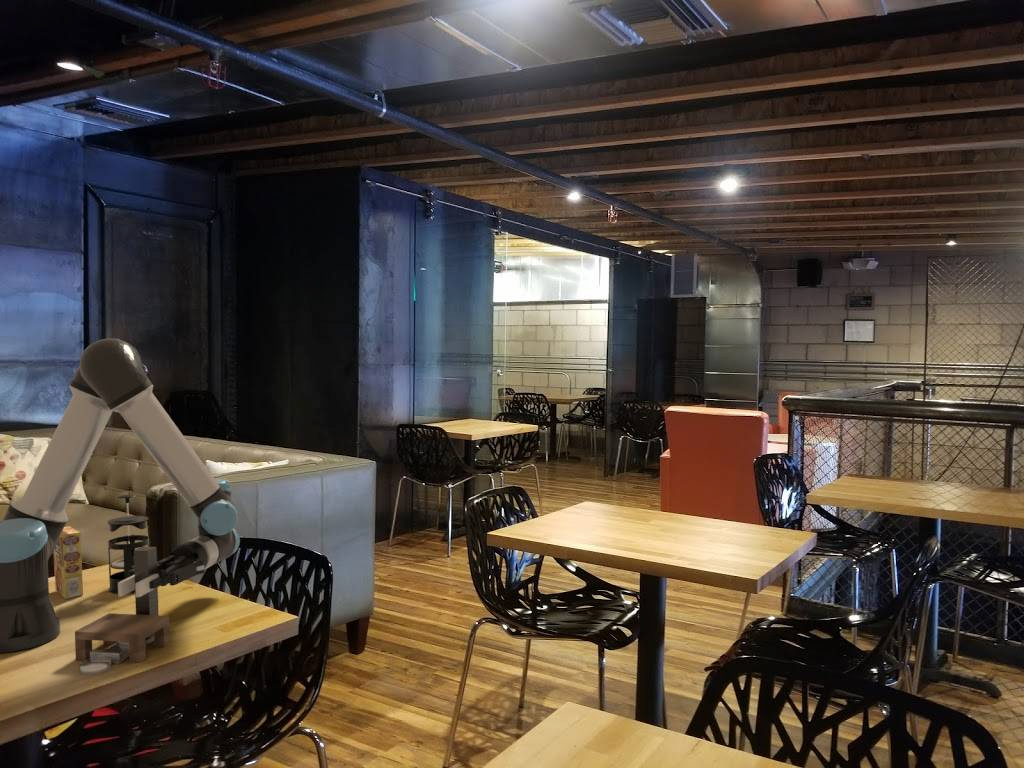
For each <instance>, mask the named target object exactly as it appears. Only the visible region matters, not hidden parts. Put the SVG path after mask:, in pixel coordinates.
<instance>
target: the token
mask: <svg viewBox="0 0 1024 768" xmlns="http://www.w3.org/2000/svg"><path fill="white" fill-rule="evenodd" d="M111 668H112V663H111V659H110V658H107V657H97V658H92V659H90V658H89V659H87V660H86V661H82V662H81V663H80V664H79V671H80V672H79V674H81V675H83V674H84V676H91V675H92V676H93V675H94V676H95V675H98V674H102V673H105V672H107V671H109V670H110V669H111Z"/></svg>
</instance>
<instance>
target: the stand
mask: <svg viewBox="0 0 1024 768" xmlns="http://www.w3.org/2000/svg"><path fill="white" fill-rule="evenodd" d="M170 629H171V628H170V615H159V616H158V615H136V613H135V614H133V613H132V614H131V613H111V612H109V613H107V614H105V615H103V616H101V617H100V618H98V619H96V620H93V621H92V622H91V623H88V624H86V625H84V626H82V627H80V628H79V629H78V630H75V631H74V642H75V643H74V645H75V661H82V662H84V661H86V660H89V659H90V651H92V650H93V641H97V642H98V641H99V642H103V645H115V644H117V643H118V642H129V656H128V657H129V658H128V659H129V664H137V663H140V664H141V663H143V662H144V661H146V660H147V654H146V647H147V646H146V645H145V638H147V637H149V636H150V635H152V634H153V633H154V638H155V640H154V647H155V646H157V647H159V648H165V647H166V646H168V645H169V644H171V637H170V636H171V634H170V632H171V631H170ZM157 647H156V648H157ZM145 659H146V660H145Z"/></svg>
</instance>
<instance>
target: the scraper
mask: <svg viewBox="0 0 1024 768" xmlns="http://www.w3.org/2000/svg"><path fill="white" fill-rule="evenodd" d="M157 555H158V553H157V546H149V547H148V546H143V547H139V548H135V550H134V572H135V583H137V582H139V581H141V580H143V579H145V578H147V577H149V576H151V575H153V574H157V562H158V557H157ZM158 588H159V587H158ZM158 588H156V589H154V590H152V591H150V592H148V593H146V594H144V595H143V596H141V597H136V586H135V593H134V594H135V595H134V597H135V598H134V599H135V601H134V602H135V614H136V615H158V616H160V615H159V592H158V591H159V589H158ZM153 641H155V638H154V633H153V634H152V635H150V636H149V637H147V638H145V646H147V645H149V644H150V643H152V642H153ZM97 657H107V658H110V659H111V664H118V665H119V664H122V663H123V662H124V660H126V658H128V657H129V642H116V643H114V644H112V645H111V646H110V647H109V648H107V649H92V651H90V658H89V659H92V658H97Z"/></svg>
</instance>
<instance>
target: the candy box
mask: <svg viewBox="0 0 1024 768" xmlns="http://www.w3.org/2000/svg"><path fill="white" fill-rule="evenodd" d="M81 541H82V540H81V532H80V531H78V530H77V529H76V528H74V527H72V526H65V527H64V529H63V531H62V533H61V535H60V537H59V539H58V541H57V545H56V547H55V549H54V551H53V553H52V554H53V567H54V568H53V569H54V585H55V588H54V589H55V592H57V594H58V595H60V596H61V597H63V598H64V599H72V598H76V597H79V596H80V597H81V596H84V587H83V586H84V585H83V583H84V582H83V565H82V545H81V544H82V543H81Z"/></svg>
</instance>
